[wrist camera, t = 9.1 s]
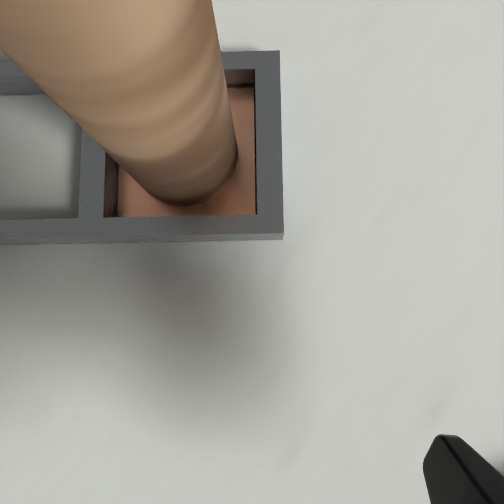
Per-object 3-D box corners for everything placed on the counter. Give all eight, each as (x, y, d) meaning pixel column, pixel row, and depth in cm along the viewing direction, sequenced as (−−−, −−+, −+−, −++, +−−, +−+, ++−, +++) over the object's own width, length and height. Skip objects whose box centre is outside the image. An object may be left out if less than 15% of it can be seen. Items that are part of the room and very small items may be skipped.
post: (226, 215, 18) (154, 47, 7) (121, 196, 19) (-131, 0, 7) (247, 114, 19) (214, -214, 7) (145, 96, 19) (-52, -247, 7)
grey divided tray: (282, 239, 18) (283, 233, 17) (-70, 246, 19) (-99, 240, 17) (278, 70, 19) (279, 50, 18) (-56, 81, 20) (-82, 62, 18)
